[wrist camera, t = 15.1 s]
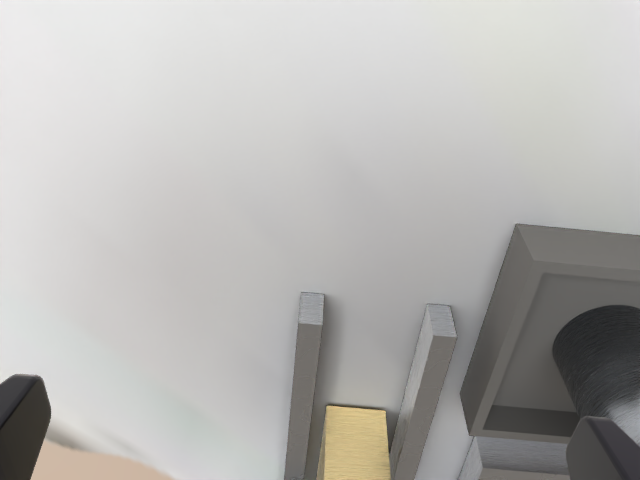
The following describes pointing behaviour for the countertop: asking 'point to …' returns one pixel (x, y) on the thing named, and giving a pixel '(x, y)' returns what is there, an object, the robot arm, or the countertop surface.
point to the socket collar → (514, 460)
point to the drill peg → (603, 364)
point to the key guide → (417, 398)
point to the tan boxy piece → (354, 445)
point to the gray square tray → (542, 328)
